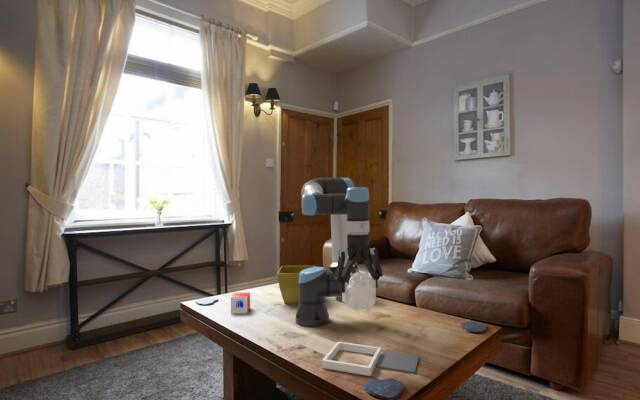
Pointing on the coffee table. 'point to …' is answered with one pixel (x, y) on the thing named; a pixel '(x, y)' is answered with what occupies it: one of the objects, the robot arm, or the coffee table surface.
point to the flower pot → (290, 282)
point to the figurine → (360, 292)
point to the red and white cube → (240, 303)
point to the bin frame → (350, 367)
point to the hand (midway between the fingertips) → (359, 300)
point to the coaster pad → (398, 362)
